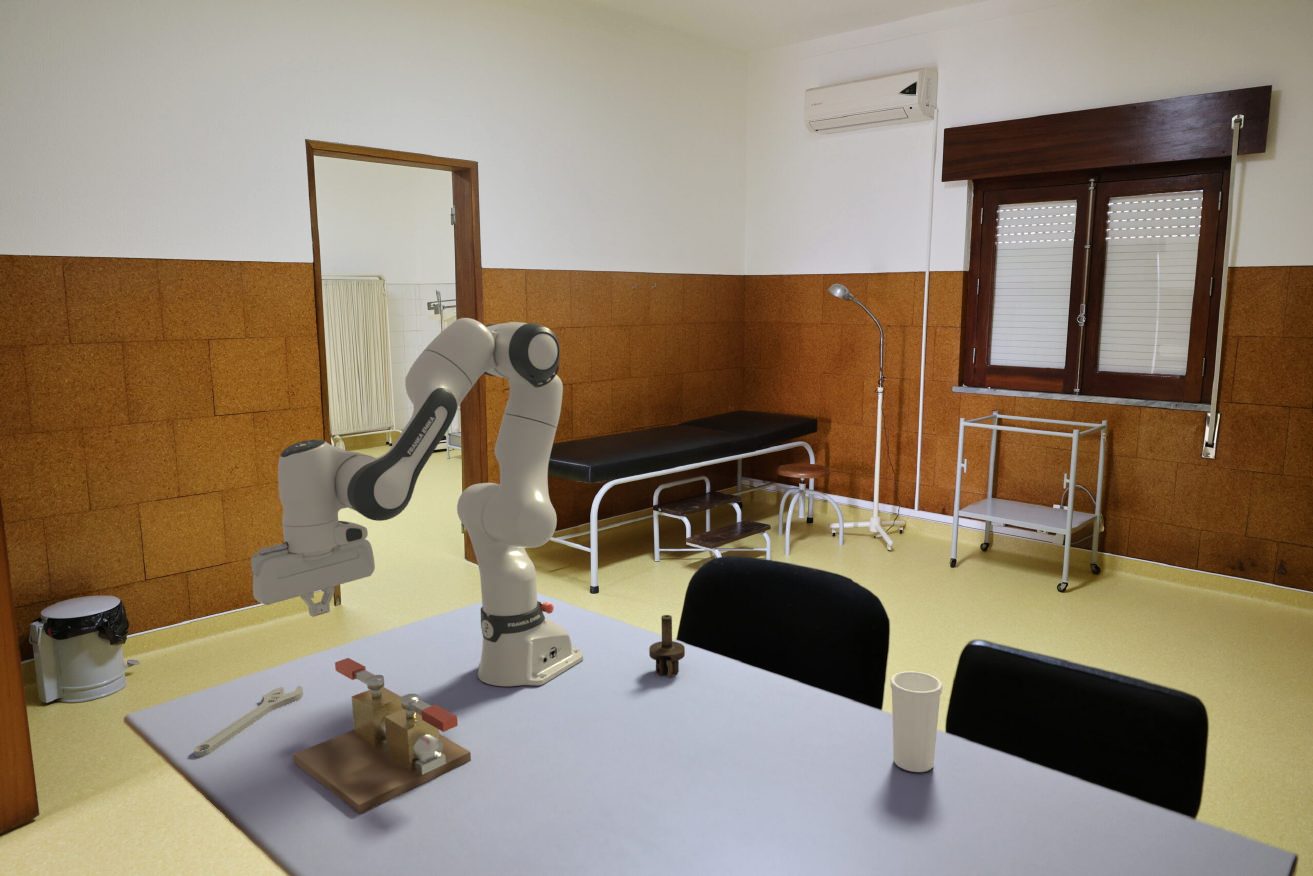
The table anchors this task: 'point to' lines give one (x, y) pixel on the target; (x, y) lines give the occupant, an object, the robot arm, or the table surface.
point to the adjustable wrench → (249, 719)
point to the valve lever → (359, 673)
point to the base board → (368, 769)
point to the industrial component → (667, 650)
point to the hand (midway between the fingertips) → (319, 614)
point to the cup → (915, 719)
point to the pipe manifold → (402, 727)
